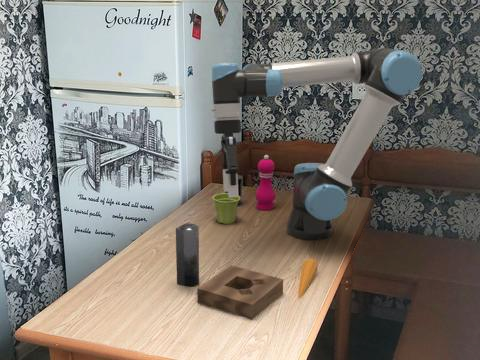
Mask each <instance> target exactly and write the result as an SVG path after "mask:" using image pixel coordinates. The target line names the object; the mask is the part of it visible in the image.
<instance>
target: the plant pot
mask: <svg viewBox="0 0 480 360" xmlns="http://www.w3.org/2000/svg"><path fill="white" fill-rule="evenodd" d="M212 200H213V203H214V204H215V205H214V206H215V211H216V219H217V222H218V223H220V224H224V225H230V224H233V223H235V222H236V218H237V211H238V206H239V205H238V203H239V200H240V196H239V197H230V198H229V197H228V193H224V192H221V193H218V194H214V195H213V196H212Z"/></svg>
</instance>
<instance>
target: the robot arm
mask: <svg viewBox="0 0 480 360" xmlns="http://www.w3.org/2000/svg"><path fill="white" fill-rule="evenodd" d="M211 75H212V76H211V83H212V102H213V107H212V108H211V112H213V118H214V119H216V120H214V123H213V124H214V125H213V127H214V133H215V134H216V135H217V134H219V135H221V134H223V135H221V138H220V145H221V166H222V182H223V183H222V184H223V193H224V192H227V191H228V197H229V198H230V197H239V196H238V175H239V174H238V172H239V165H238V156H237V140H236V139H237V138H236V137H235V136H234V134H240V133H241V132H242V121H241V119H240V118H241V117H242V112H241V98H250V97H251V98H253V97H254V98H255V97H259V98H260V97H269V98H270V97H273V96H274V97H275V96H276V97H277V96H280V95H281V94H282V90H283V88H288V87H298V86H299V87H300V86H301V87H302V86H310V85H312V86H314V85H322V84H323V85H324V84H332V83H333V84H334V83H343V82H344V83H345V82H352V83H353V84H355V85H358V84H359V85H360V84H364V89H365V94H364V96H363V98H362V99H361V101H360V103H359V104H358V106H357V108H356V109H355V112H354V113H353V115H352V116H351V118H350V120H349V122H348V124H347V126H346V127H345V128H344V131H343V132H342V134H341V136H340V138H339V139H338V142H337V143H336V144H335V147H334V148H333V150H332V152H331V153H330V156H329V157H328V158H327V161H326V162H325V163H322V162H321V163H319V162H305V163H304V162H303V163H298V164H296V165H295V167H294V171H293V188H292V189H293V191H292V193H293V194H292V195H293V197H292V210H291V212H290V215H289V217H288V220H287V223H286V232H287V233H288V234H289V235H290V236H292V237H295V238H296V239H301V240H310V241H312V240H314V239H316V240H323V239H322V238H324V239H327V238H329V237H331V236H332V235H333V233H332V232H333V230H334V228H333V223H332V221H333V220H335V219H337V218H339V217H340V216H342V214H343V213H344V212H345V211H346V208H347V205H348V197H347V195H348V194H349V192H350V191H351V188H353V182H352V177H353V175H354V173H355V171H356V169H357V168H358V166H359V165H360V163H361V161H362V159H363V157H364V156H365V154H366V152H367V150H368V149H369V147H370V146H371V144H372V142H373V141H374V139H375V138H376V135H377V134H378V132H379V130H380V129H381V127H382V125H383V124H384V122H385V120H386V118H387V117H388V115H389V113H390V111H391V109H392V108H394V107H395V106H398V105H401V103H402V101H403V100H404V98H405V96H406V95H408V94H410V93H412V92H413V91H415V90H416V89H417V88H418V86H419V85H420V83H421V81H422V76H423V69H422V66H421V63H420V61H419V59H418V58H417V57H416V56H415V55H414V54H412V53H410V52H408V51H405V50H401V49H395V48H391V47H380V48H375V49H370V50H363V51H356V52H355V51H354V52H352V53H351V55H349V56H347V55H346V56H338V57H335V56H334V57H326V58H313V59H304V60H293V61H292V60H291V61H283V62H271V63H260V64H258V63H248V64H246V65H245V66H244V67H243V68H242V69H240V67H239V63H235V62H222V63H216V64H214V65H213V66H212V67H211ZM331 234H332V235H331ZM330 235H331V236H330ZM328 236H329V237H328ZM326 237H327V238H326ZM314 241H315V240H314Z"/></svg>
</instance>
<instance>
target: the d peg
mask: <svg viewBox="0 0 480 360" xmlns="http://www.w3.org/2000/svg"><path fill="white" fill-rule="evenodd" d="M199 229H200V228H199V225H197V224H194V223H190V222H185V223H183V224H181V225H179V226H178V227H176V228H175V250H176V251H175V255H176V256H175V257H176V258H175V259H176V260H175V261H176V262H175V263H176V265H175V266H176V285H179V286H182V287H186V288H192V287H196V286H198V285H199V284H200V242H199V241H200V233H199V232H200V231H199Z"/></svg>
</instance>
